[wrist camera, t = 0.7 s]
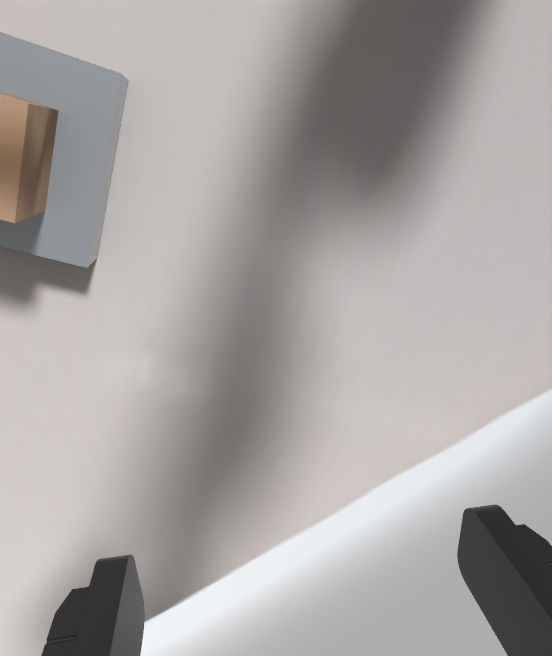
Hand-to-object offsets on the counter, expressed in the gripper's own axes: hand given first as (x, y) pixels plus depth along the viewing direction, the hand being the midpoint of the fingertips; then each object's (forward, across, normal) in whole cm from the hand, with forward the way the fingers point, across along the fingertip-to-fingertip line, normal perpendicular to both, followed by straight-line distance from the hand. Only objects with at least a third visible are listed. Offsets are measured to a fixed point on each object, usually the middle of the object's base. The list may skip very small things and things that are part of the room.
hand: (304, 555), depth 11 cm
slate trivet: (+26, +14, -10) cm, 31 cm away
